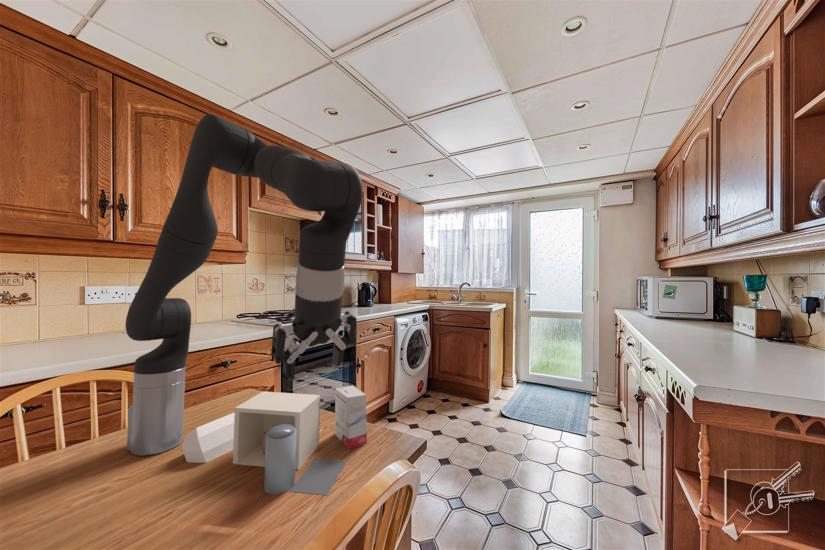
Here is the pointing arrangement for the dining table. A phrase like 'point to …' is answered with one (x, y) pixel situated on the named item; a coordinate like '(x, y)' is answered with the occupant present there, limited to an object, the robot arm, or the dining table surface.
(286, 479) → the jar
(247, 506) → the dining table surface
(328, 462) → the mat
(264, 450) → the brown tapered cup
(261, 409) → the cubby
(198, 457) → the white beveled prism
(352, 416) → the ink box
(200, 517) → the dining table surface
